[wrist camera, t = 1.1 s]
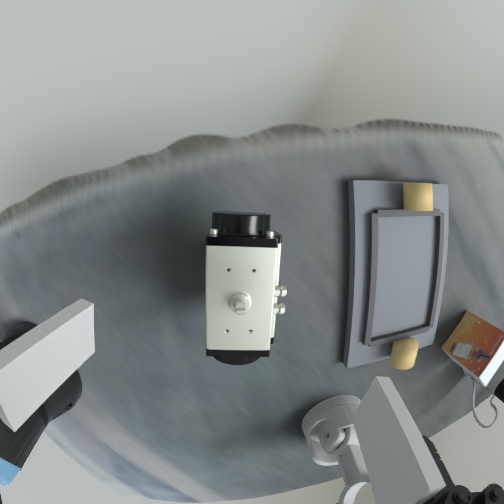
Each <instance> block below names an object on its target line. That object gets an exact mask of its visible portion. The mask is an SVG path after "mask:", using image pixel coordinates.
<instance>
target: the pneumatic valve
mask: <svg viewBox="0 0 504 504" xmlns="http://www.w3.org/2000/svg"><path fill="white" fill-rule="evenodd" d="M270 218H271V215H270V214H265V213H253V212H232V211H217V212H213V213H212V228H211V229H210V231H209V233H208V234H207V236H206V276H205V310H206V356H213V357H214V358H215V359H217V360H218V361H220V362H223V363H226V364H230V365H245V364H249V363H252V362H254V361H256V360H257V359H258V358H259V357H269V352H270V344H273V341H274V330H275V319H276V314H278V311H279V314H284V313H285V305H284V304H279V307H278V304H277V297H279V295H281V297H285V296H286V293H287V289H286V286H281V287H279V286H278V283H279V270H280V256H281V242H282V235H281V234H279V233H278V232H276V231H270Z"/></svg>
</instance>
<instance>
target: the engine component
mask: <svg viewBox="0 0 504 504" xmlns="http://www.w3.org/2000/svg"><path fill="white" fill-rule="evenodd" d="M360 403H361V401H360V400H359V398H357V397H355V396H352V395H338V396H334V397H331V398H328V399H326V400H324V401H322V402H320V403H318V404H317V405H315V406H314V407H313V408H312V409H310V410H309V411H308V413H307V414H306V415H305V417H304V419H303V421H302V429H303V432H304V435H305V438H306V441H307V444H308V447H309V450H310V453H311V456H312V459H313V461H314V462H316V463H317V464H320V465H327V466H328V465H337V464H339V467H340V470H341V473H342V476H343V479H344V482H345V488H344V489H343V491H342V493H341V496H340V499H339V502H338V503H336V504H354V498H355V496H356V493H357V492H358V490H359V489H360V488H361V487H362V486H363V485H364V484H366V483H370V479H369V476H368V472H367V468H366V465H365V461H364V458H363V456H362V453H361V451H360V448H359V446H360V444H359V441H358V438H357V434H356V431H355V428H354V424H353V421H352V418H351V417H352V416H353V414H354V412H355V411H356V409H357V408H358V406H359V405H360ZM370 484H371V483H370Z"/></svg>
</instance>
